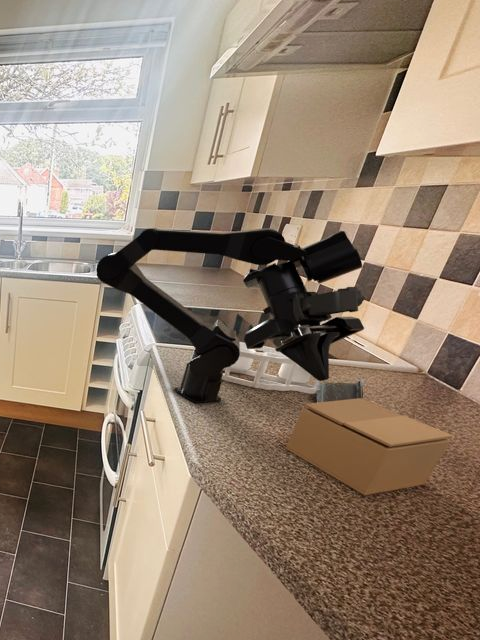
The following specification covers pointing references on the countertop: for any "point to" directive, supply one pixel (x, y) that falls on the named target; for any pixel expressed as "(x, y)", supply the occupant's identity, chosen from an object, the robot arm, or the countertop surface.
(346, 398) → the grey angular piece
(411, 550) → the countertop surface
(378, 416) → the flap
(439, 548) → the countertop surface
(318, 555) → the countertop surface
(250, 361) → the skeletal toy car
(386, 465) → the carton
